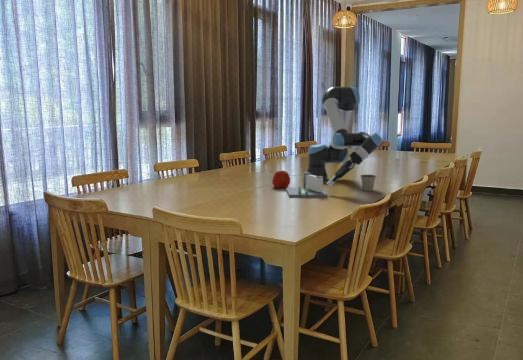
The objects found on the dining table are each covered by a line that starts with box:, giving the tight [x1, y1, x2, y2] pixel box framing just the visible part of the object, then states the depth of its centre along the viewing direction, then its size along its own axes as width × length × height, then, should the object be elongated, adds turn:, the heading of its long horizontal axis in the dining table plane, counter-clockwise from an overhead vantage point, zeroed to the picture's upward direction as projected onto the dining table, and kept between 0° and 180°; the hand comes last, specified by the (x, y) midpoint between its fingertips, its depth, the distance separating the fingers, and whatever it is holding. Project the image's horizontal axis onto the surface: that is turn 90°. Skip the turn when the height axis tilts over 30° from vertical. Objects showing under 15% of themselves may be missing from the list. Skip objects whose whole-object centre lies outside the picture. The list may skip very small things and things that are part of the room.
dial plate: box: [285, 185, 328, 198], centre depth 256 cm, size 22×21×6 cm
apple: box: [272, 170, 291, 189], centre depth 274 cm, size 11×11×11 cm
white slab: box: [302, 171, 324, 192], centre depth 257 cm, size 16×4×9 cm, turn 27°
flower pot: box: [359, 174, 377, 192], centre depth 267 cm, size 9×9×9 cm
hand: (328, 184), depth 254 cm, fingers closed
